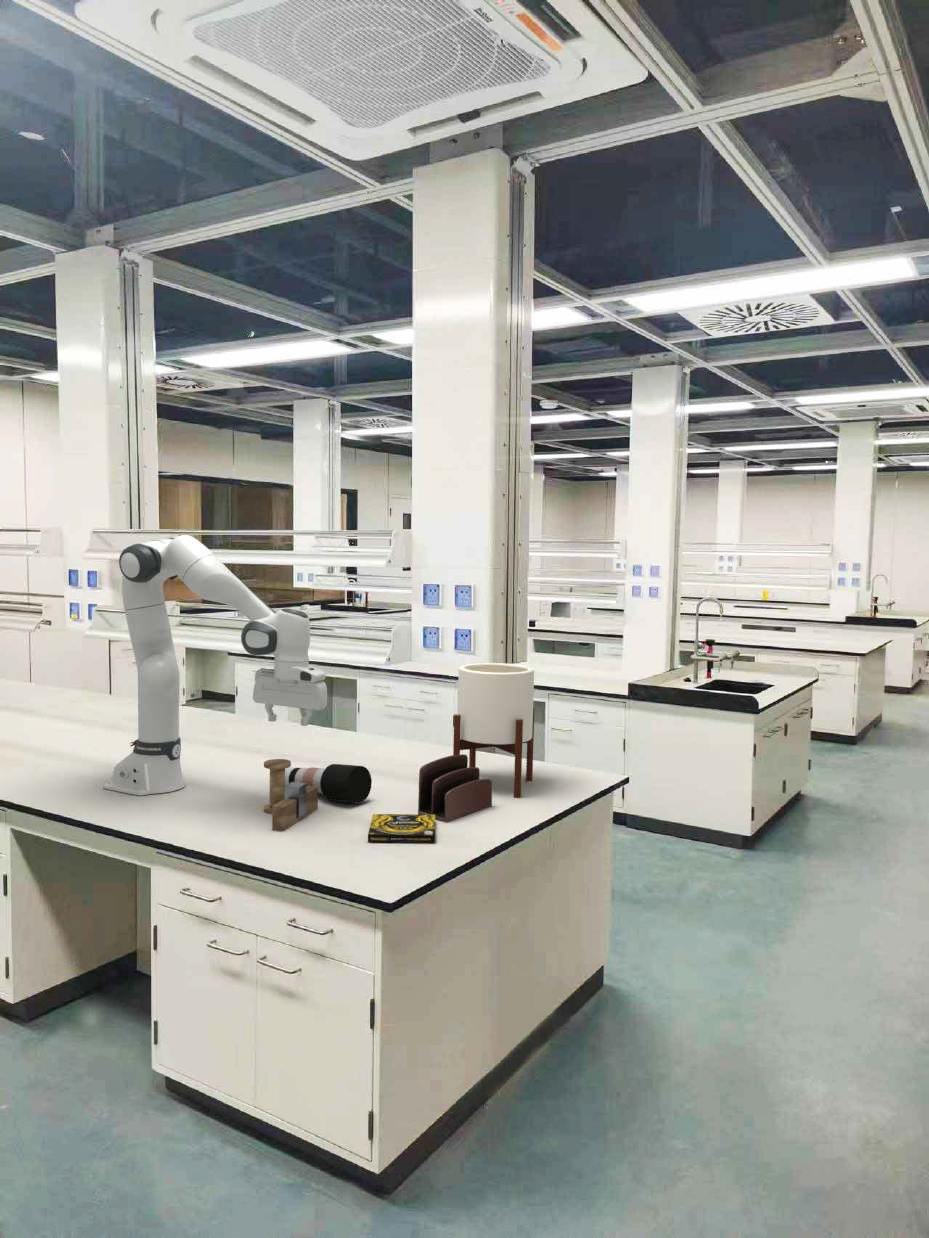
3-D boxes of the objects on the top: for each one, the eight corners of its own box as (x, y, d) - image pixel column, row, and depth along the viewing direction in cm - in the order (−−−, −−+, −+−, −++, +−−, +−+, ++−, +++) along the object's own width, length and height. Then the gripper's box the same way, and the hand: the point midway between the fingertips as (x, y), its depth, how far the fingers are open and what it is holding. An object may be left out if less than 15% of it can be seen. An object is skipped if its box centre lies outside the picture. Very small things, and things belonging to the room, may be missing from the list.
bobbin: (258, 812, 222) (259, 764, 221) (271, 805, 229) (271, 758, 228) (282, 815, 220) (283, 766, 219) (295, 807, 227) (295, 760, 226)
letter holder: (417, 815, 224) (418, 763, 222) (464, 799, 239) (465, 750, 238) (445, 823, 217) (446, 769, 216) (492, 806, 233) (493, 756, 231)
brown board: (272, 829, 209) (272, 806, 208) (307, 807, 227) (307, 785, 227) (283, 831, 208) (283, 807, 207) (317, 808, 227) (317, 786, 226)
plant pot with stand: (537, 779, 261) (540, 665, 258) (522, 799, 239) (525, 675, 236) (467, 773, 267) (469, 661, 264) (446, 792, 245) (449, 670, 242)
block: (284, 816, 216) (285, 785, 216) (292, 811, 220) (292, 781, 220) (299, 818, 215) (299, 787, 215) (306, 813, 219) (306, 783, 218)
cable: (282, 797, 252) (292, 764, 255) (366, 807, 232) (375, 771, 236) (258, 788, 244) (268, 755, 248) (342, 797, 225) (352, 761, 228)
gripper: (249, 668, 220) (246, 720, 221) (320, 676, 215) (317, 729, 216) (261, 666, 226) (259, 716, 227) (331, 673, 221) (328, 725, 222)
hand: (288, 723), depth 221 cm, fingers open, 8 cm apart
